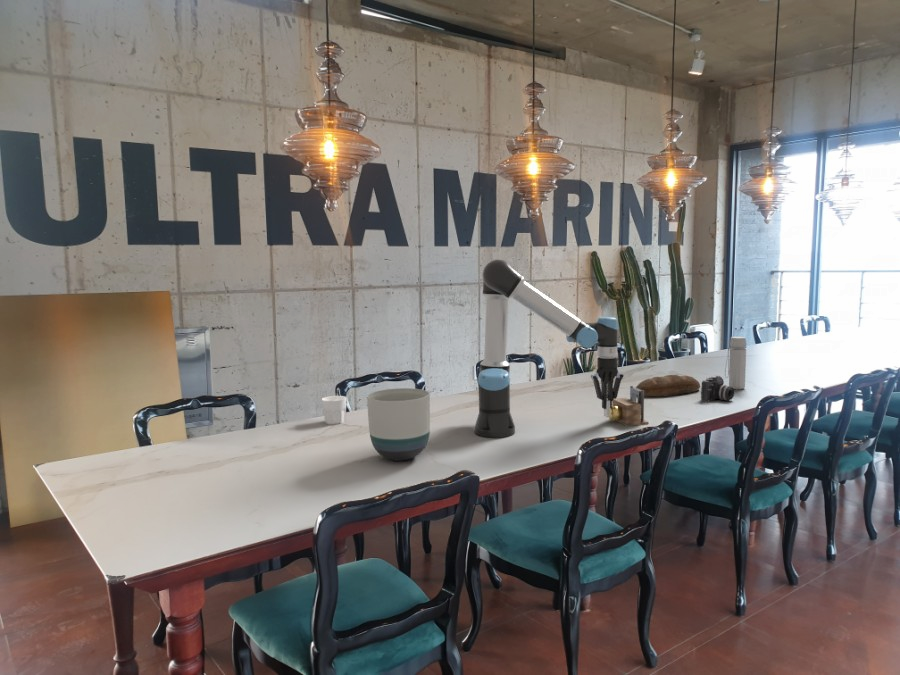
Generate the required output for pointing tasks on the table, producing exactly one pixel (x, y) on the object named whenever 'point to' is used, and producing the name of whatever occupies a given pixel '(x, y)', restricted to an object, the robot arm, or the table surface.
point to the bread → (668, 386)
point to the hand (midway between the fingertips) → (606, 416)
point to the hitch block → (631, 410)
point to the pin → (616, 413)
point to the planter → (399, 422)
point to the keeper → (633, 395)
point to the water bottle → (737, 362)
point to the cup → (334, 409)
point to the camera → (715, 389)
